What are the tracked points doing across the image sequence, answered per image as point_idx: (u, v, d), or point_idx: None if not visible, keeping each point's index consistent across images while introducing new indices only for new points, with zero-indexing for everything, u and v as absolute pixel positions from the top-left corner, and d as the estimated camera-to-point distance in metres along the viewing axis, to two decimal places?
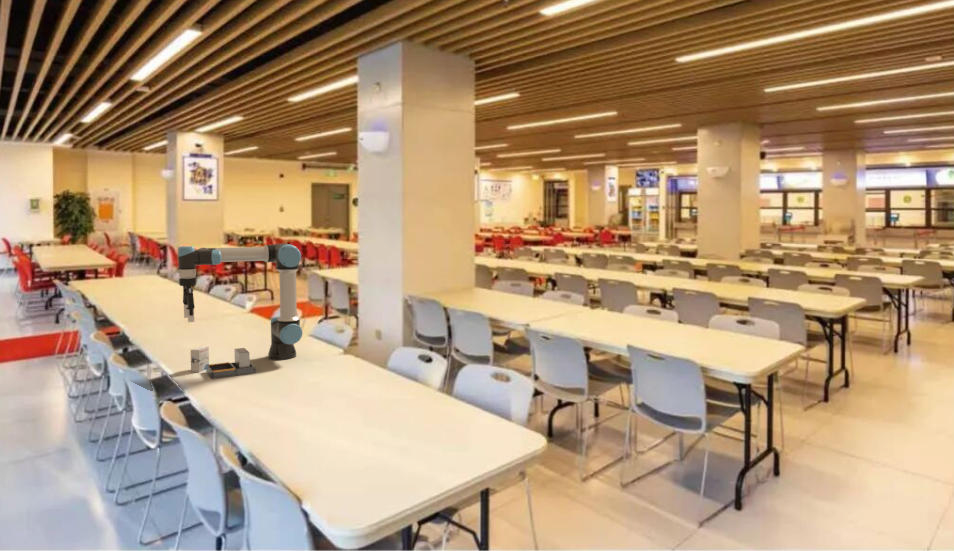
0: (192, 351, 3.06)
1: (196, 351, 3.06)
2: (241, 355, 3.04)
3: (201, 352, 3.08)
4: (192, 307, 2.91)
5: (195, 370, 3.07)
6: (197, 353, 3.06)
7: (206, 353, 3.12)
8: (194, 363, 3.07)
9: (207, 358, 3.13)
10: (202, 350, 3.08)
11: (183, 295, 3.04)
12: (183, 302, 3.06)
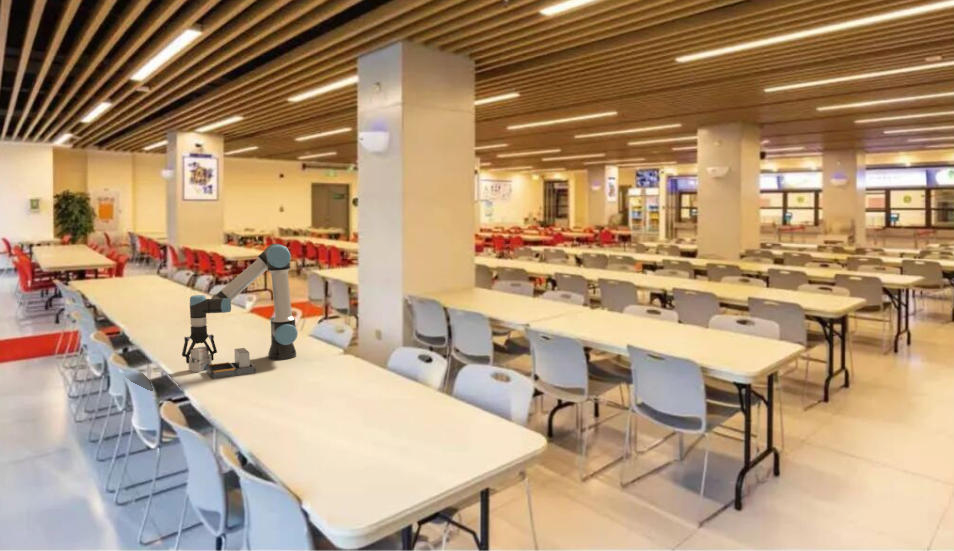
0: (192, 351, 3.06)
1: (196, 351, 3.06)
2: (241, 355, 3.04)
3: (201, 352, 3.08)
4: (182, 355, 3.05)
5: (195, 370, 3.07)
6: (197, 353, 3.06)
7: (206, 353, 3.12)
8: (194, 363, 3.07)
9: (207, 358, 3.13)
10: (202, 350, 3.08)
11: (212, 344, 3.14)
12: None
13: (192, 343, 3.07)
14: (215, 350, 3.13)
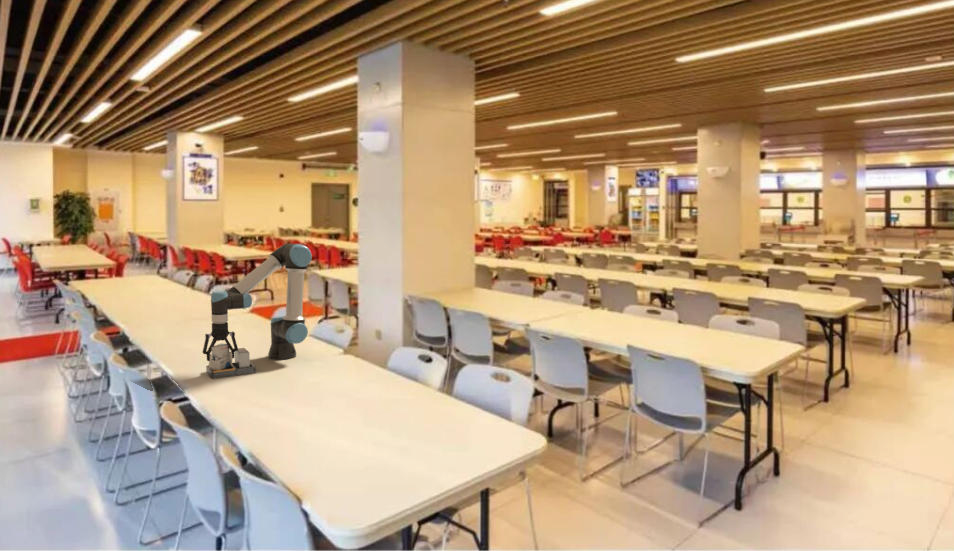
0: (213, 348, 2.99)
1: (217, 348, 2.99)
2: (241, 355, 3.04)
3: (222, 350, 3.01)
4: (203, 353, 2.98)
5: (215, 368, 3.00)
6: (218, 350, 2.99)
7: (227, 350, 3.05)
8: (215, 361, 3.00)
9: (228, 355, 3.06)
10: (223, 347, 3.02)
11: (233, 341, 3.07)
12: None
13: (213, 340, 3.00)
14: (236, 348, 3.06)
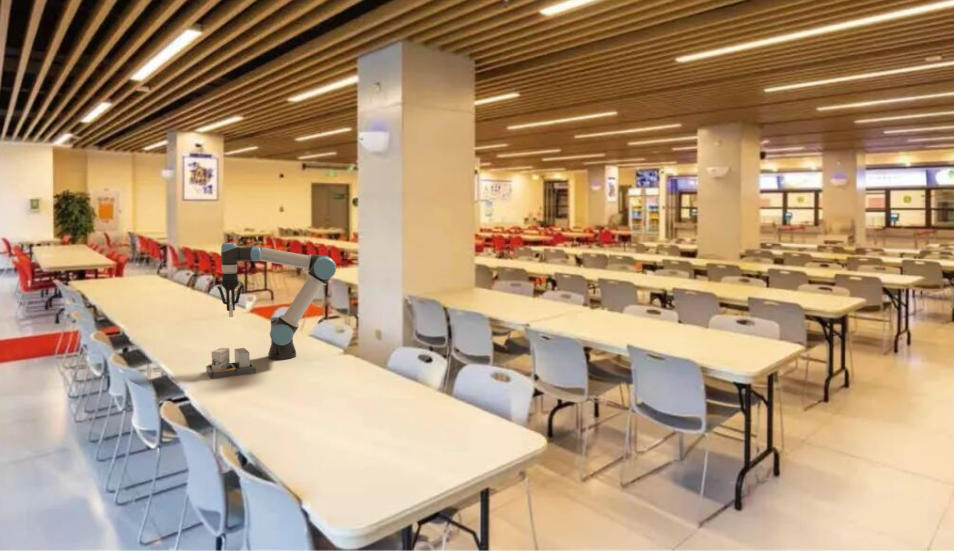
0: (213, 353, 2.99)
1: (217, 353, 2.99)
2: (241, 355, 3.04)
3: (222, 354, 3.01)
4: None
5: None
6: (218, 355, 2.99)
7: (227, 355, 3.05)
8: (215, 366, 3.00)
9: (228, 360, 3.07)
10: (223, 352, 3.02)
11: (237, 294, 3.19)
12: None
13: (226, 291, 3.15)
14: (237, 300, 3.18)
